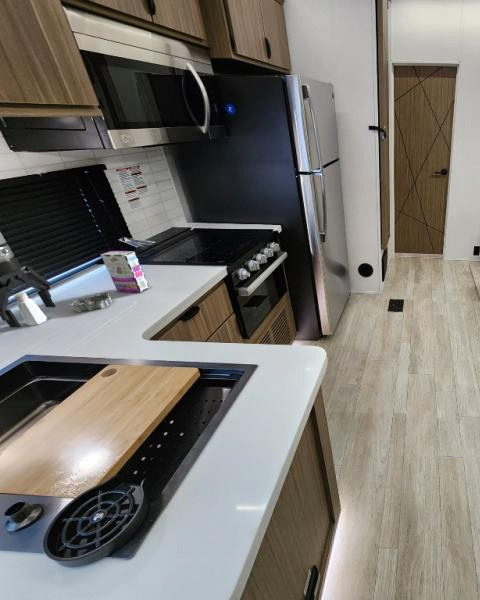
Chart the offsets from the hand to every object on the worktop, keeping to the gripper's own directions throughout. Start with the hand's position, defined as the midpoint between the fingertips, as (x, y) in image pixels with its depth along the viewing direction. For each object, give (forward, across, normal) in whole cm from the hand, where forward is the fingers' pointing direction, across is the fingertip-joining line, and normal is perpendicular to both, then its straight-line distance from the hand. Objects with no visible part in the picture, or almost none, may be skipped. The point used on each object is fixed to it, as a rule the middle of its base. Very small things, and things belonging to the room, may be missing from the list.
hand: (34, 316), depth 116 cm
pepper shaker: (+2, 0, 0) cm, 2 cm away
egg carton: (+2, +10, -12) cm, 16 cm away
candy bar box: (+2, +24, -18) cm, 30 cm away
